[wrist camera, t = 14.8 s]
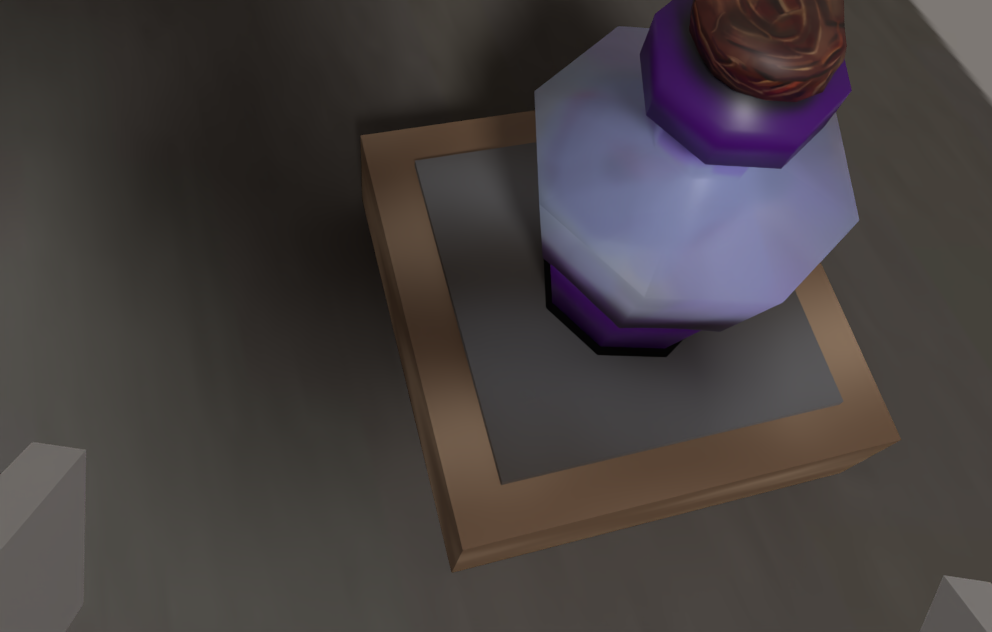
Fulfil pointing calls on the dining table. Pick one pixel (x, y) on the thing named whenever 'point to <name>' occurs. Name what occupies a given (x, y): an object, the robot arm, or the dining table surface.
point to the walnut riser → (583, 366)
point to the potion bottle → (692, 170)
